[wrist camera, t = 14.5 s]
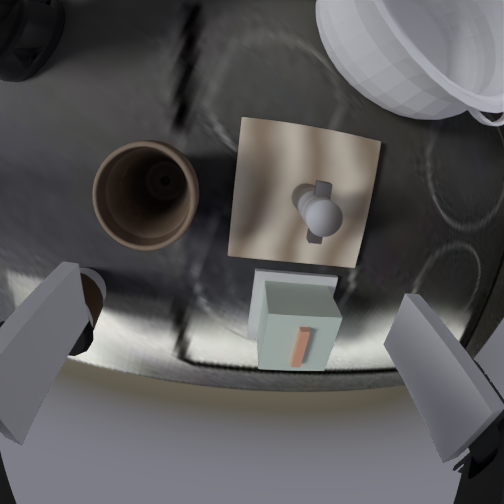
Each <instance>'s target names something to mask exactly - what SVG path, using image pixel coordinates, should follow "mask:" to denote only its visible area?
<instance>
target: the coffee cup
mask: <svg viewBox="0 0 504 504" xmlns="http://www.w3.org/2000/svg"><path fill="white" fill-rule="evenodd" d="M79 270H80V276H81V282H82V288H83V294H84V299H85V304H86V309H87V314H88V319H89V322H88V323H87V325H86V326H85V328H84V330H83V331H82V333H81V335H80V336H79V338H78V339H77V341H76V343H75V344H74V346H73V348H72V349H71V351H70V353H69V355H70V356H76V355H78V354H81V353H83V352H86V351H87V350H88V348H89V347H90V345H91V343H92V342H93V330H94V328H95V325H96V323H97V320H98V318H99V315H100V313H101V310H102V308H103V302H104V300H105V298H106V285H105V282H104V280H103V278H102V277H101V276H100V274H98V273H97V272H96V271H95V270H92V269H89V268H80V269H79Z"/></svg>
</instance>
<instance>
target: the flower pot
mask: <svg viewBox="0 0 504 504" xmlns="http://www.w3.org/2000/svg"><path fill="white" fill-rule="evenodd" d="M165 176H166V177H168V178H169V184H167V185H164V184H163V183H162V178H163V177H165ZM198 202H199V184H198V179H197V176H196V173H195V171H194V168H193V166H192V165H191V163H190V162H189V160H188V159H187V158H186V157H185V156H184V155H183V154H182V153H181V152H180V151H179V150H178V149H176V148H175V147H173V146H171V145H169V144H167V143H164V142H160V141H154V140H145V141H135V142H131V143H128V144H126V145H124V146H122V147H120V148H118V149H117V150H115V151H114V152H112V153H111V154H110V155H109V156H108V157H107V158H106V159H105V160H104V162H103V163H102V164H101V166H100V168H99V169H98V172H97V174H96V176H95V180H94V184H93V205H94V209H95V213H96V215H97V218H98V220H99V222H100V223H101V225H102V226H103V228H104V229H105V230H106V232H107V233H108V234H109V235H110V236H111V237H113V238H114V239H115V240H116V241H118V242H119V243H121V244H123V245H125V246H127V247H129V248H133V249H137V250H146V251H148V250H157V249H161V248H164V247H166V246H169V245H171V244H172V243H174V242H175V241H177V240H178V239H179V238H180V237H181V236H182V235H183V234H184V233H185V232H186V230H187V229H188V228H189V226H190V224H191V222H192V220H193V218H194V215H195V213H196V210H197V206H198Z"/></svg>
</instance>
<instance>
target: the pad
mask: <svg viewBox="0 0 504 504" xmlns="http://www.w3.org/2000/svg"><path fill="white" fill-rule="evenodd" d="M337 280H338V277H337V275H326V274H315V273H303V272H291V271H280V270H269V269H258V268H256V269H255V277H254V284H253V292H252V299H251V307H250V314H249V322H248V329H247V338H248V339H257V326H258V320H259V313H260V307H261V300H262V294H263V287H264V281H276V282H288V283H300V284H313V285H326V286H328V289H329V291H330V293H331V295H332V297H333V295H334V292H335V288H336V284H337Z"/></svg>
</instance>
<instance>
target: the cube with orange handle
mask: <svg viewBox="0 0 504 504" xmlns="http://www.w3.org/2000/svg"><path fill="white" fill-rule="evenodd" d="M341 321H342V315H341V313H340V311H339V309H338V307H337V305H336V303H335V301H334V299H333V297H332V295H331V293H330V291H329V289H328V286H326V285H313V284H300V283H288V282H276V281H264V287H263V294H262V300H261V307H260V313H259V320H258V326H257V350H258V368H259V369H269V370H301V371H324V369H325V367H326V364H327V361H328V359H329V356H330V353H331V350H332V348H333V345H334V342H335V339H336V336H337V333H338V330H339V327H340V324H341Z"/></svg>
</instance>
